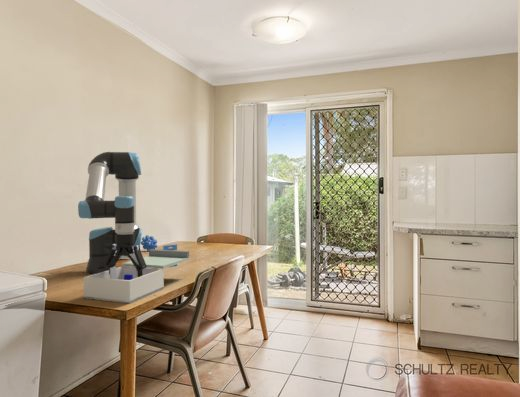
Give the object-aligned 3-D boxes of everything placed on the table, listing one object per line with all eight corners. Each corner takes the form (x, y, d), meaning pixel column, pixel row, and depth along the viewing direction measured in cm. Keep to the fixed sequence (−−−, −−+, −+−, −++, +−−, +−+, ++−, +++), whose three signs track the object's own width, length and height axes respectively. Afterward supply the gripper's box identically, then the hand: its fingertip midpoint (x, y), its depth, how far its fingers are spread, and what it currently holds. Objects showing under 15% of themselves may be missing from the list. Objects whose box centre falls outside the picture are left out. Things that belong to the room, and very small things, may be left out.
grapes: (140, 252, 254) (140, 236, 254) (140, 251, 261) (140, 235, 261) (157, 252, 258) (157, 235, 258) (157, 250, 264) (157, 234, 264)
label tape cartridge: (174, 264, 210) (173, 243, 210) (177, 265, 207) (177, 244, 207) (160, 266, 204) (160, 245, 204) (163, 267, 201) (163, 245, 201)
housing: (83, 298, 142) (83, 277, 141) (122, 285, 162) (121, 266, 162) (130, 303, 134) (129, 281, 134) (163, 288, 155) (163, 269, 155)
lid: (121, 265, 162) (121, 256, 162) (151, 257, 183) (151, 249, 183) (163, 268, 155) (163, 258, 155) (189, 259, 176) (189, 251, 176)
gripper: (95, 233, 150) (96, 283, 150) (142, 235, 140) (143, 289, 140) (109, 231, 157) (109, 279, 157) (155, 233, 147) (155, 284, 147)
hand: (125, 284), depth 149 cm, fingers open, 13 cm apart
